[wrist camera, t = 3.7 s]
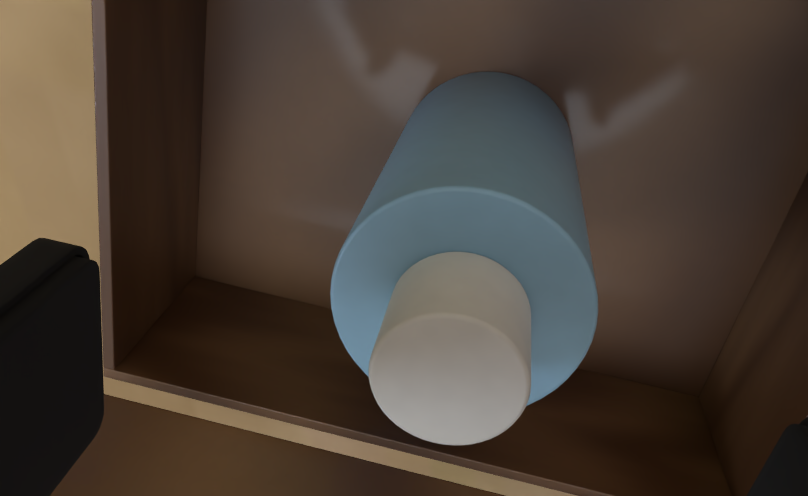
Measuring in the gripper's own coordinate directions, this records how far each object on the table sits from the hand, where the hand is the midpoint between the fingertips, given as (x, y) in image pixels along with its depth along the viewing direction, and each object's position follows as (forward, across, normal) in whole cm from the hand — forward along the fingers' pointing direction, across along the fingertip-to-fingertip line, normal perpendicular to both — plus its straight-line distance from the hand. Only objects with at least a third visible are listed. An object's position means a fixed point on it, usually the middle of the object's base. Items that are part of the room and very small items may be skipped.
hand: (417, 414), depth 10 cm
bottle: (+11, 0, 0) cm, 11 cm away
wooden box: (+11, 0, 0) cm, 11 cm away
